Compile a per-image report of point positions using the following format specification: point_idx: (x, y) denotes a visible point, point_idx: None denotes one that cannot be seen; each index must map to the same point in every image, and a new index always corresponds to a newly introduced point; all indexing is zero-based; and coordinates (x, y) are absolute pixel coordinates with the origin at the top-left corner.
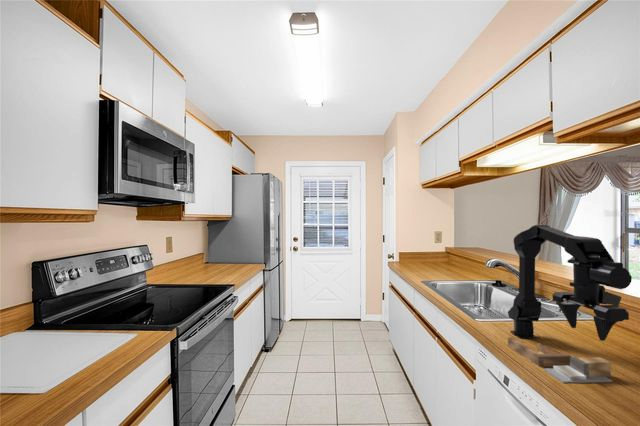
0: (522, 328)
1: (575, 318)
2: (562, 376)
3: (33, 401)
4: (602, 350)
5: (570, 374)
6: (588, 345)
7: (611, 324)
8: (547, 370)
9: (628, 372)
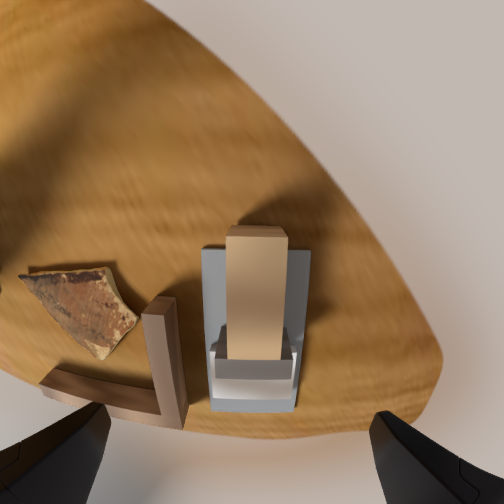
0: None
1: (61, 457)
2: None
3: None
4: (68, 56)
5: (278, 390)
6: (34, 80)
7: (495, 492)
8: (224, 409)
9: (238, 99)
